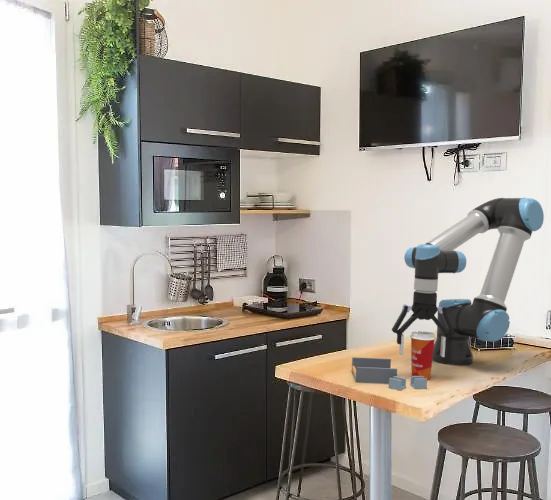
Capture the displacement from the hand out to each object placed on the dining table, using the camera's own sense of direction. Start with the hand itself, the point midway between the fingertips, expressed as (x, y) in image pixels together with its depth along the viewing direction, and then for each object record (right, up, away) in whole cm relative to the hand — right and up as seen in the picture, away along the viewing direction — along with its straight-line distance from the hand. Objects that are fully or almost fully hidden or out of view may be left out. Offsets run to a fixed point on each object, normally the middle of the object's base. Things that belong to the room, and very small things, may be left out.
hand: (421, 355), depth 200 cm
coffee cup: (0, -8, +1) cm, 8 cm away
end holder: (-16, -7, -1) cm, 18 cm away
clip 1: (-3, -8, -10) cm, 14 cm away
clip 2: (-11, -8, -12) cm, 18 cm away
